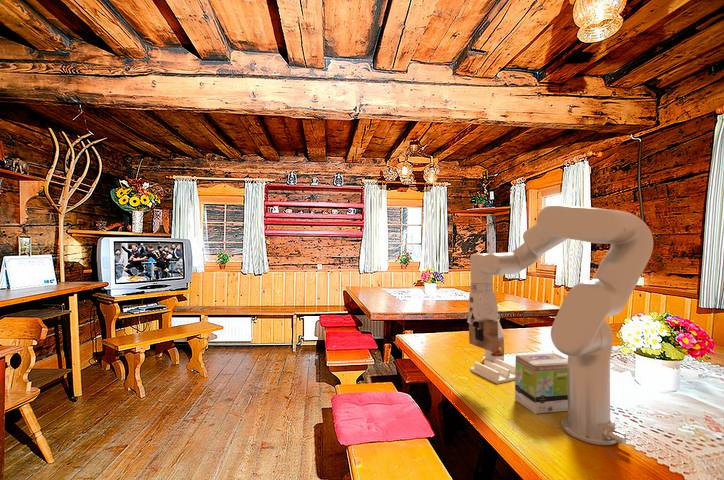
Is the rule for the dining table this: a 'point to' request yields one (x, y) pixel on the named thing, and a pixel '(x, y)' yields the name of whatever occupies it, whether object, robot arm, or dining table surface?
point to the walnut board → (486, 335)
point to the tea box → (541, 382)
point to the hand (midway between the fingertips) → (483, 339)
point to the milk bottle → (500, 352)
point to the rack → (495, 370)
